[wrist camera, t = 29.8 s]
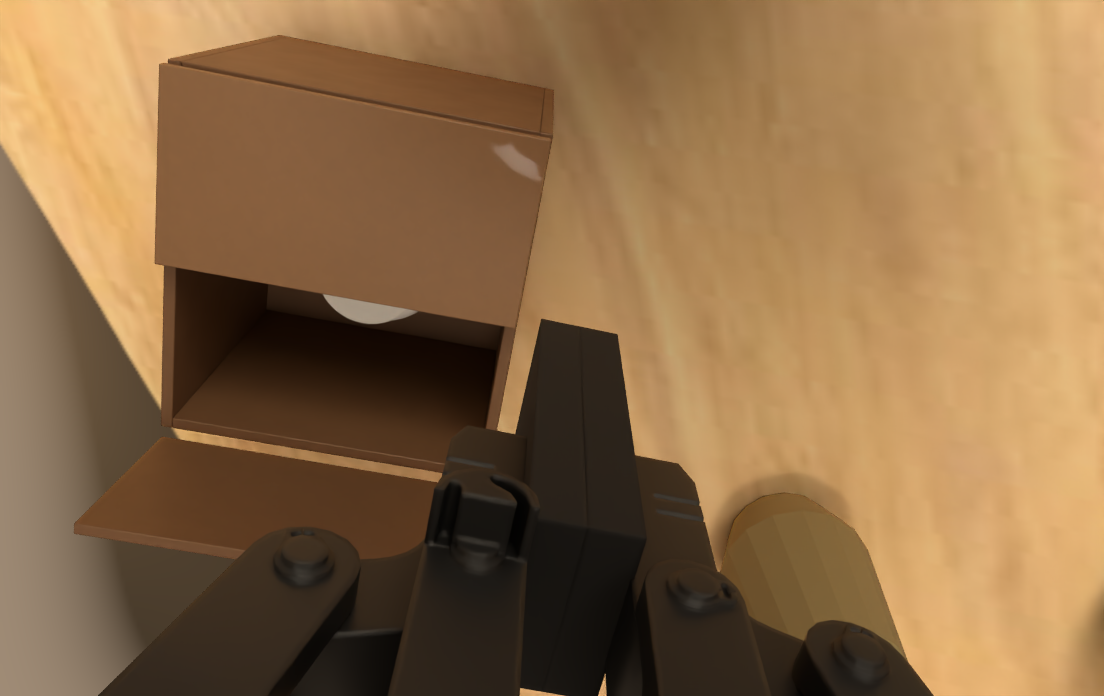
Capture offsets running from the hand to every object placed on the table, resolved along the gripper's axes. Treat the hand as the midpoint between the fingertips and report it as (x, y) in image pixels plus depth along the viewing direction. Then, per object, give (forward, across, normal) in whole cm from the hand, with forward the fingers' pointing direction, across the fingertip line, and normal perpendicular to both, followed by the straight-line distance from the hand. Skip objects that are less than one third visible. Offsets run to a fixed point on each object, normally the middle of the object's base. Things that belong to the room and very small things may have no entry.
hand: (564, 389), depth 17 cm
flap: (+14, -7, -1) cm, 16 cm away
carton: (+27, -7, -5) cm, 28 cm away
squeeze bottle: (+27, +17, -19) cm, 37 cm away
